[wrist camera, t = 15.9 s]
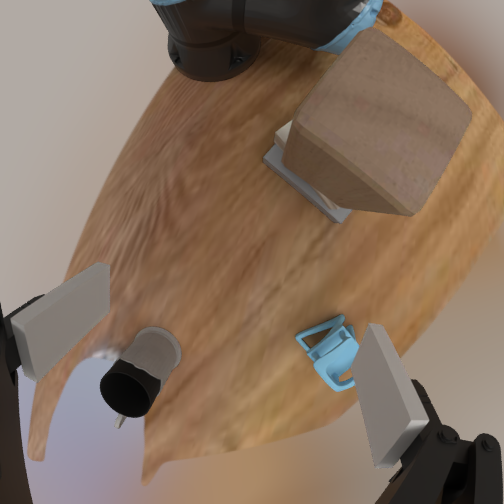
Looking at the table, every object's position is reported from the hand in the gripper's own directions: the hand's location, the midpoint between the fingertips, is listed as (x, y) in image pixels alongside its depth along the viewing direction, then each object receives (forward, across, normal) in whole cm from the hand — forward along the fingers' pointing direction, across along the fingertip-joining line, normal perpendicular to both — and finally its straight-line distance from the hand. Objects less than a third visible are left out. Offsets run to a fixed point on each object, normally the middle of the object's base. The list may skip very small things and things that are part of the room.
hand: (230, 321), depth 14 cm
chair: (+31, +14, -17) cm, 38 cm away
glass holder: (+28, -14, -29) cm, 42 cm away
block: (+26, +7, +10) cm, 28 cm away
